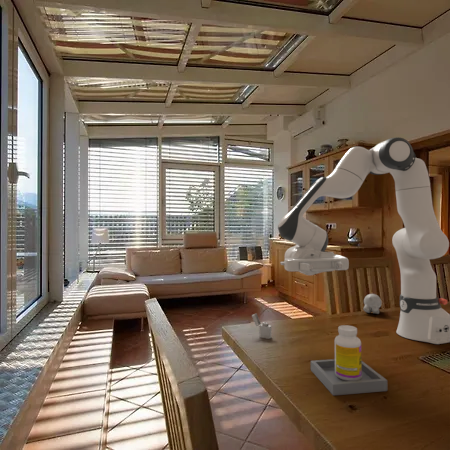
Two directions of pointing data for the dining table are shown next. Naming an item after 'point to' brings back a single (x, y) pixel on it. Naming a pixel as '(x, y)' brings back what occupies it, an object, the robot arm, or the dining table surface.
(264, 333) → the lighter
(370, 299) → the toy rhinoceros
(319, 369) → the tray
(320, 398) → the dining table surface
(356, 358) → the supplement bottle
